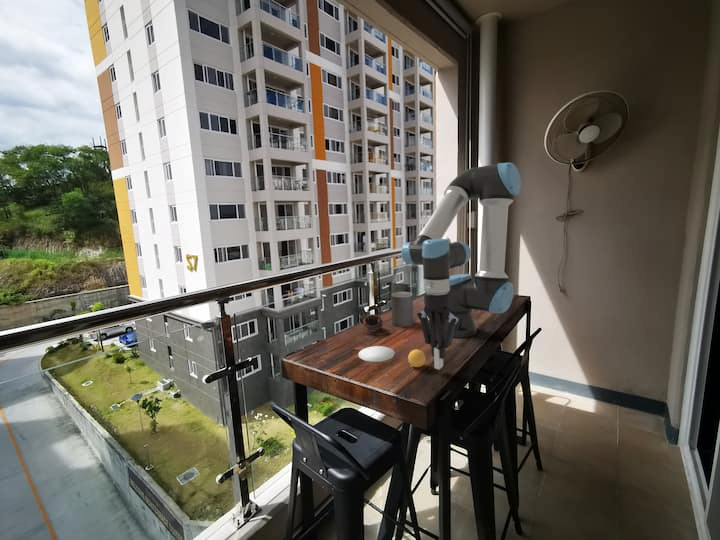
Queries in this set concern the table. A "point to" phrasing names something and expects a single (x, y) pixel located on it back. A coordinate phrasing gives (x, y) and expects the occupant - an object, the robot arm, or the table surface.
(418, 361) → the ball
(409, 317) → the pillar candle
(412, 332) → the table surface
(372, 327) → the pottery mug
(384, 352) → the disc
